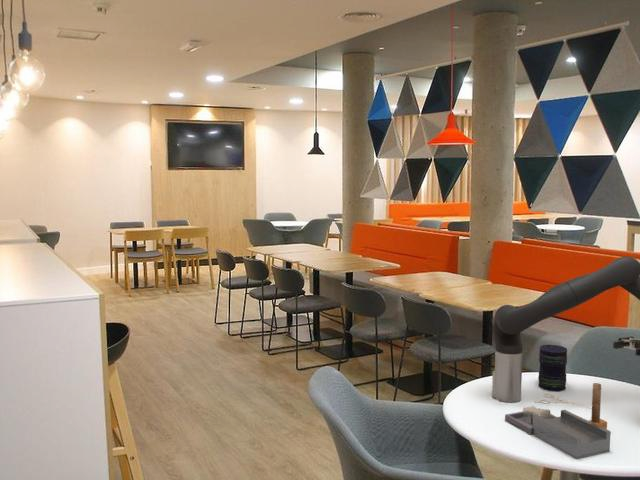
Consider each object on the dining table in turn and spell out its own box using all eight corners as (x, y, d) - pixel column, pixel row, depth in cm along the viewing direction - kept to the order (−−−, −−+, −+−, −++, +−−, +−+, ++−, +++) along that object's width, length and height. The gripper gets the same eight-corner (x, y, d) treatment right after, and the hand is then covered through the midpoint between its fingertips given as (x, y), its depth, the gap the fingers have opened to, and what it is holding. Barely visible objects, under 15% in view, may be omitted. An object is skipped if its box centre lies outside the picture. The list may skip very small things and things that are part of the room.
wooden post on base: (583, 430, 196) (585, 384, 194) (599, 427, 198) (601, 381, 197) (590, 434, 193) (592, 387, 191) (606, 431, 195) (608, 384, 194)
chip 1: (531, 424, 200) (522, 419, 204) (541, 422, 201) (532, 417, 205) (531, 412, 199) (523, 407, 203) (541, 410, 201) (533, 406, 205)
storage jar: (571, 390, 231) (573, 351, 230) (547, 392, 229) (549, 352, 228) (556, 381, 241) (557, 343, 239) (532, 383, 239) (534, 345, 237)
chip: (533, 423, 199) (531, 410, 199) (543, 421, 200) (541, 408, 201) (542, 424, 195) (539, 411, 196) (552, 422, 197) (550, 409, 197)
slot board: (532, 434, 193) (532, 415, 193) (563, 427, 198) (564, 409, 197) (576, 458, 177) (577, 438, 176) (609, 451, 181) (610, 431, 181)
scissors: (539, 392, 229) (599, 401, 219) (539, 394, 229) (599, 403, 219) (533, 401, 220) (595, 411, 210) (533, 403, 220) (595, 414, 210)
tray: (505, 420, 204) (505, 414, 204) (539, 414, 209) (539, 408, 209) (530, 434, 193) (530, 428, 193) (565, 427, 198) (565, 421, 198)
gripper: (644, 326, 209) (607, 331, 203) (683, 337, 196) (645, 342, 190) (643, 348, 210) (606, 354, 204) (681, 360, 197) (643, 366, 191)
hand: (625, 348), depth 197 cm, fingers open, 8 cm apart
